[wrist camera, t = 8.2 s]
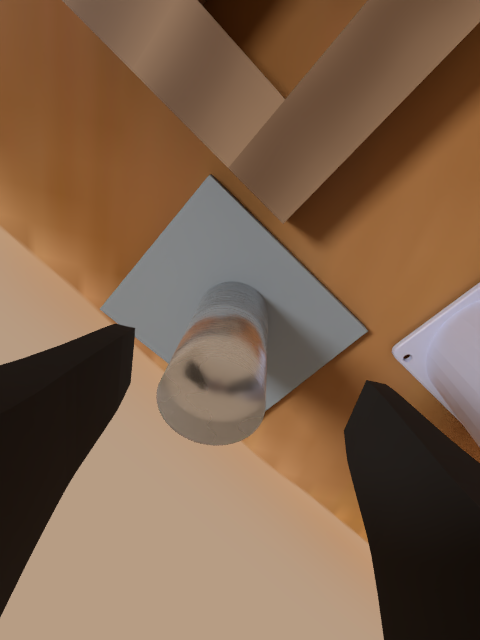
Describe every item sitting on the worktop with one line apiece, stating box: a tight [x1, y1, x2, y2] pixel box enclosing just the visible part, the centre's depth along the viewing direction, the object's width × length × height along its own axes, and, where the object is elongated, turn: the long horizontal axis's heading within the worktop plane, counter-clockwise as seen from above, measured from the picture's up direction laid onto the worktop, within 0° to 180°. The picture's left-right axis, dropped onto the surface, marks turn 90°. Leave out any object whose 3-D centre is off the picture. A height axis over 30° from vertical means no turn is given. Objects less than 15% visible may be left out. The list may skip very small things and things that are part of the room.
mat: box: [100, 174, 368, 411], centre depth 20 cm, size 12×10×1 cm
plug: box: [157, 281, 268, 445], centre depth 16 cm, size 4×4×8 cm
